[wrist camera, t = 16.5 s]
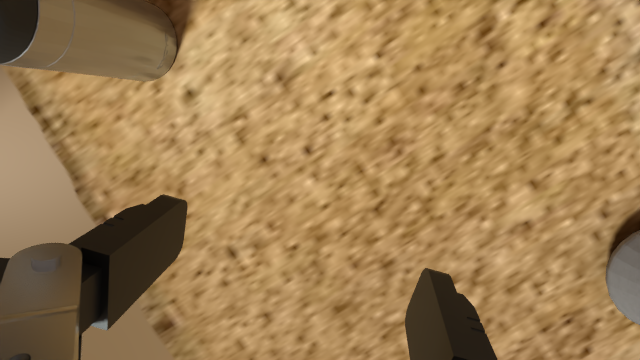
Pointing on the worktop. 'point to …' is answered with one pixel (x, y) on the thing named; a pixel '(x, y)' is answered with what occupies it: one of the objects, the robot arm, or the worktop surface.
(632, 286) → the coffee pot
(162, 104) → the worktop surface
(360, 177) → the worktop surface
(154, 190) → the worktop surface
